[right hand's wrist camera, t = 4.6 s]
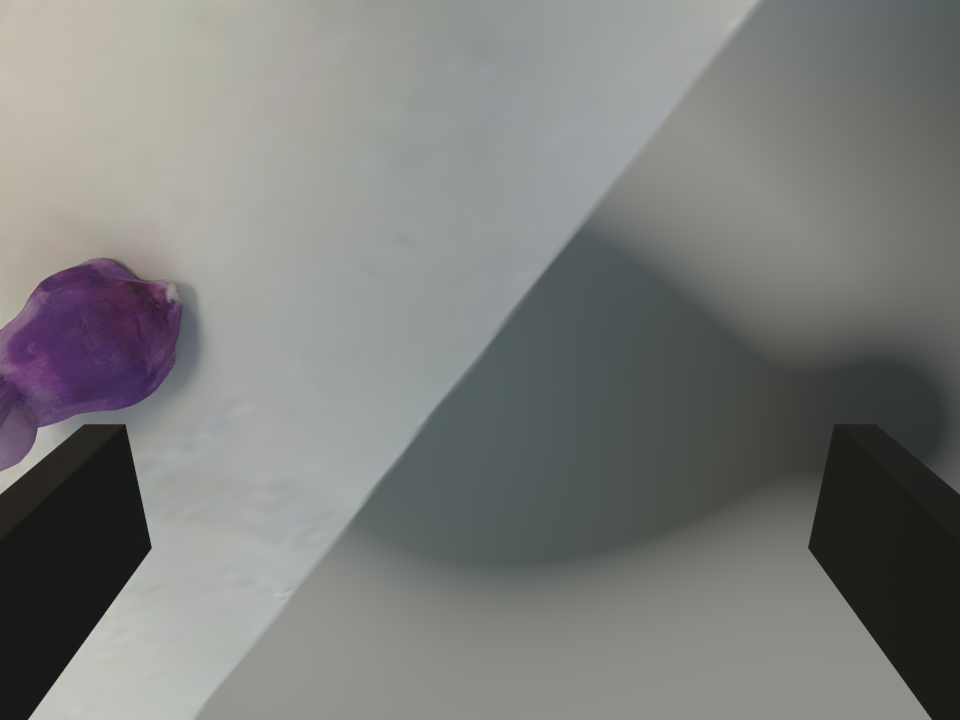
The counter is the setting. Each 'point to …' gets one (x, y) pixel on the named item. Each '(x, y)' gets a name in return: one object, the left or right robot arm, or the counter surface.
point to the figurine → (83, 349)
